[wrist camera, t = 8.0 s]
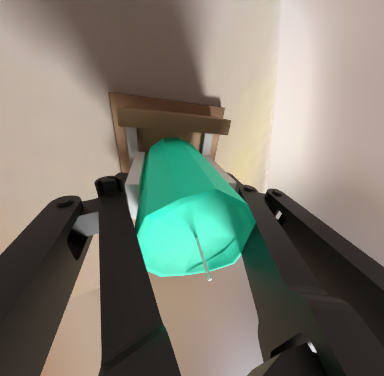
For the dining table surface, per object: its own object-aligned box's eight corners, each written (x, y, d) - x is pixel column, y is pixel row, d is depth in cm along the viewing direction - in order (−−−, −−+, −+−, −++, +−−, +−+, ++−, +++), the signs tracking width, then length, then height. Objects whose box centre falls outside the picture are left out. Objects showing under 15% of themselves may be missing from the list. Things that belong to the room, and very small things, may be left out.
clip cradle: (111, 92, 14) (87, 87, 9) (221, 107, 17) (249, 109, 12) (127, 193, 20) (117, 223, 15) (205, 191, 23) (220, 215, 18)
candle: (209, 161, 16) (300, 255, 6) (176, 196, 17) (205, 318, 8) (169, 122, 13) (221, 185, 3) (133, 168, 14) (87, 313, 4)
